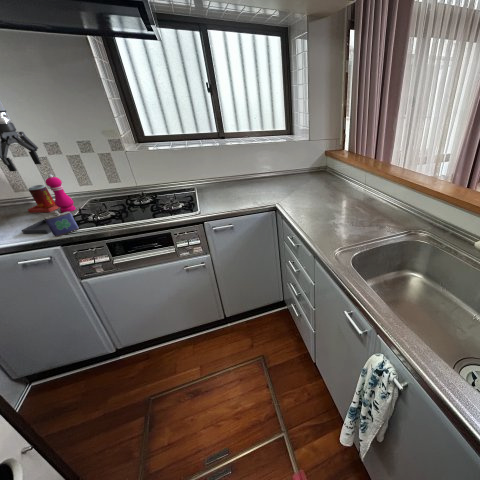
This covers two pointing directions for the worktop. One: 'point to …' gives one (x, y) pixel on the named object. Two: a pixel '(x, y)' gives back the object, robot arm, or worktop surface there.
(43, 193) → the soda can
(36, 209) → the red tray
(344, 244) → the worktop surface
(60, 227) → the flask
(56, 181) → the pepper mill
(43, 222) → the charcoal tray
